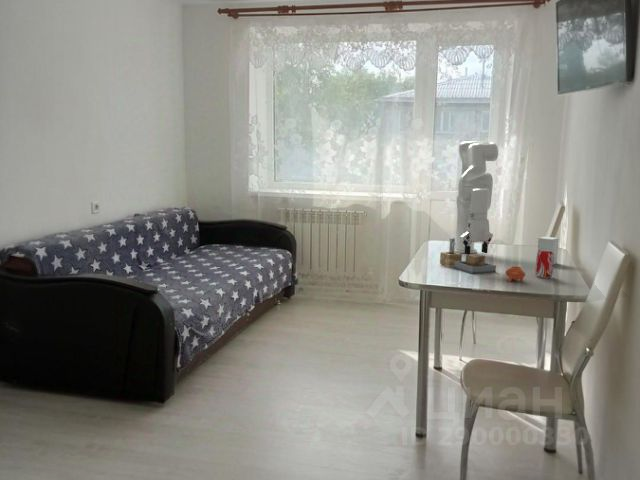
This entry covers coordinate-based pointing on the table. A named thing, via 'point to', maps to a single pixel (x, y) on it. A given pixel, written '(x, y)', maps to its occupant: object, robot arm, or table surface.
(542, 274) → the soda can
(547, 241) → the supplement box
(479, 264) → the walnut block
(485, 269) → the tray
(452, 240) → the cylinder
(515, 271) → the pot
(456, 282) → the table surface
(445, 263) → the oak block
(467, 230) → the robot arm
